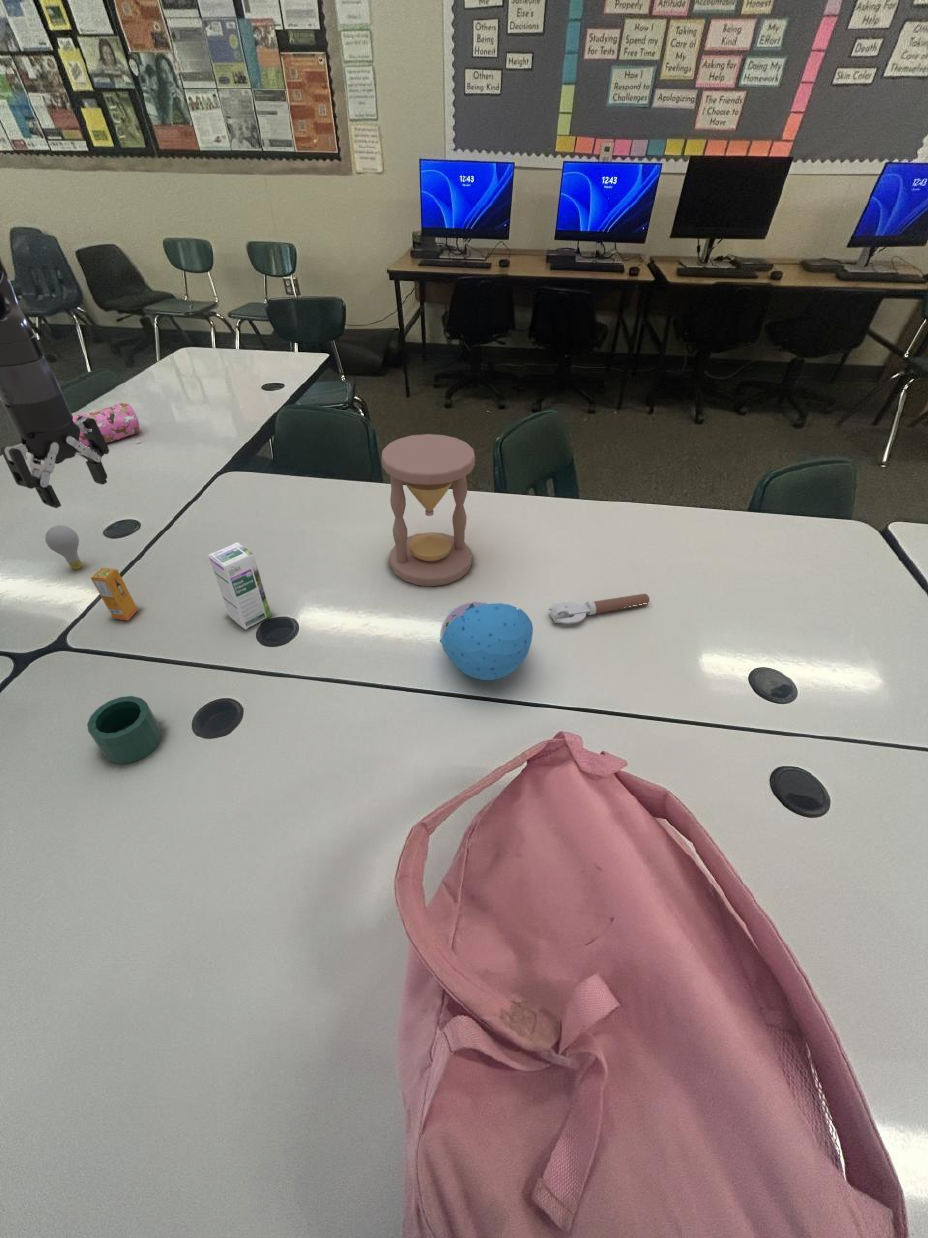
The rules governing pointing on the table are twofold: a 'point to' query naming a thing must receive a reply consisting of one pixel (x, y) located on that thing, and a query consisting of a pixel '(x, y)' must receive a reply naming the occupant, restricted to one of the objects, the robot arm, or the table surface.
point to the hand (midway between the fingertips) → (78, 494)
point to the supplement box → (114, 593)
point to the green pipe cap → (124, 729)
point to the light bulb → (64, 544)
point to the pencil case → (112, 423)
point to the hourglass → (429, 506)
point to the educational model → (486, 639)
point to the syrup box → (240, 584)
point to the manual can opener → (593, 607)
